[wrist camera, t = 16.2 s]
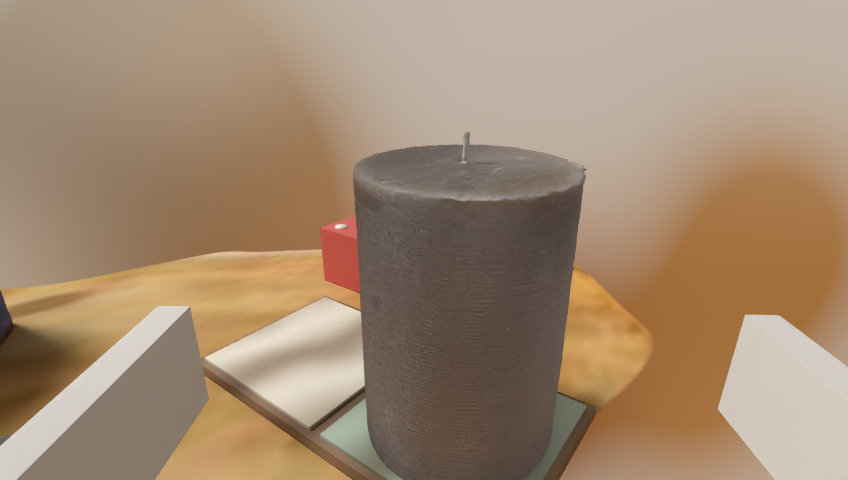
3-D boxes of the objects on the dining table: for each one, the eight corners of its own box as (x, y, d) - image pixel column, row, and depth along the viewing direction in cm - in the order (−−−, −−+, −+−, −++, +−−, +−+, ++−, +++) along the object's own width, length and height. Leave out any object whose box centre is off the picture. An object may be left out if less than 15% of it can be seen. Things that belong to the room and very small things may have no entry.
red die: (324, 279, 42) (320, 227, 41) (362, 261, 46) (360, 212, 44) (364, 294, 40) (361, 239, 38) (401, 274, 43) (400, 223, 42)
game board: (197, 369, 30) (195, 358, 30) (326, 303, 38) (325, 293, 38) (500, 583, 18) (501, 567, 17) (594, 417, 26) (596, 404, 26)
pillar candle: (365, 370, 28) (349, 120, 23) (519, 356, 30) (539, 115, 24) (369, 514, 20) (344, 162, 14) (589, 487, 21) (646, 151, 15)
